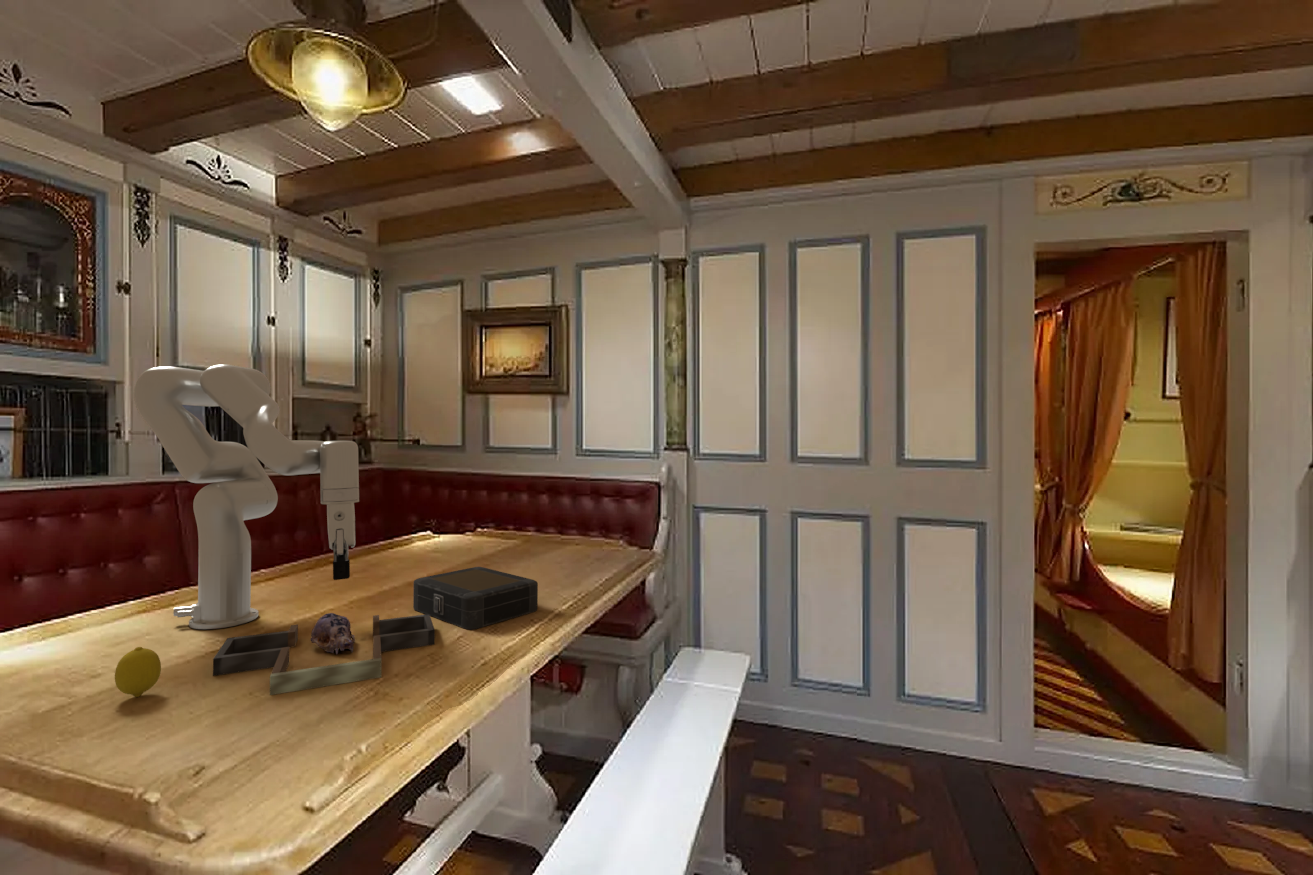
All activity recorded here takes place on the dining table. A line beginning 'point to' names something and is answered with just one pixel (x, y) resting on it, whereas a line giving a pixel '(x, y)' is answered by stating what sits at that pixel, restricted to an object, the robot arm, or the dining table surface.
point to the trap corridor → (275, 653)
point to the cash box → (475, 597)
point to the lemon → (137, 671)
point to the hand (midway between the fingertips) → (341, 578)
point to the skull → (333, 633)
